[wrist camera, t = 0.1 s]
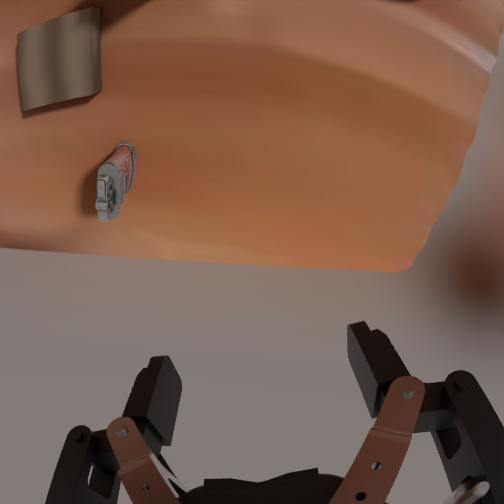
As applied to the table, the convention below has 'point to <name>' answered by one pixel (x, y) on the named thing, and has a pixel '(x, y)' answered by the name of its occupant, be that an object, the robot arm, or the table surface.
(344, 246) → the table surface
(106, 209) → the lighter
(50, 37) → the walnut base
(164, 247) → the table surface
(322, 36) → the table surface
